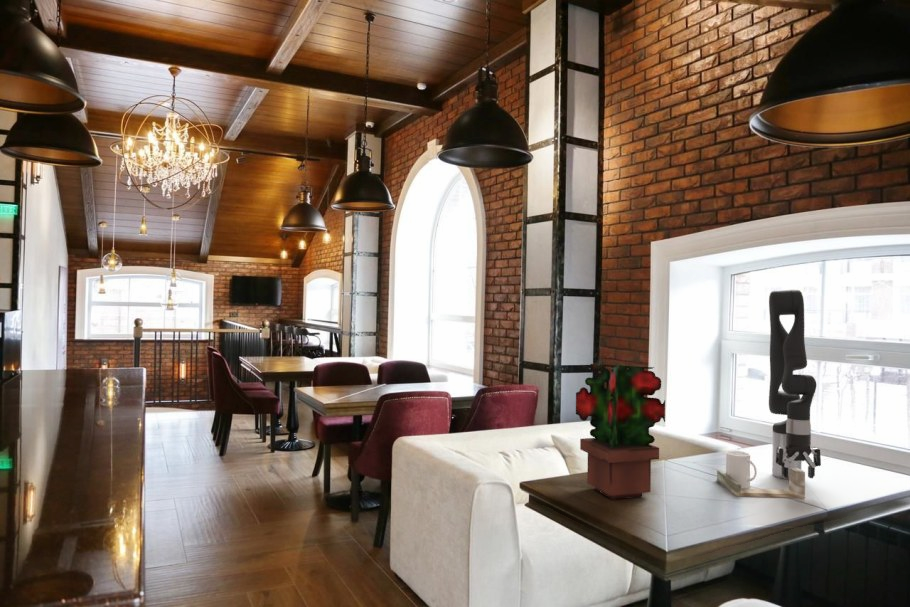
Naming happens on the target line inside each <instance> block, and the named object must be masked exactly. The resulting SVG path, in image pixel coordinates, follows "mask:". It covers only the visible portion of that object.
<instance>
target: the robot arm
mask: <svg viewBox="0 0 910 607" xmlns="http://www.w3.org/2000/svg"><path fill="white" fill-rule="evenodd" d="M768 310H769V324H770V325H769V326H770V338H769V339H770V340H769V372H770V373H769V374H770V375H769V377H770V378H769V379H770V380H769V392H768V394H769V395H768V408H769V412H770V413H771V414H774V415H782V416H786V420H784V421H780V422H776V423H774V424H773V425H772V454H771V455H772V456H771V457H772V458H771V459H772V463H771V464H772V465H771V475H772V476H773V477H775V478H779V479H784V480H789V468H799V469H801V470H802V462H805V463H806V464H807V465H808V466H807V477H808V478H809V479H813V478H815V476H816V474H815V472H816V467H821V464H822V460H821V459H822V458H821V457H822V456H821V449H819V448H818V447H813V448H812V447H811V445H812V443H811V442H812V441H811V440H812V436H811V434H812V425H811V407H812V403H813V399H814V395H815V393H816V389H817V380H816V378H815V377H814V376H813V375H810V374H794V371H798V370H803V369H805V368H806V367H807V366H808V358H807V353H806V352H807V351H806V344H805V342H806V341H805V301H804V296H803V293H802V291H801V290H799V289H782V290H779V289H778V290H772V291H771V292H770V293H769V298H768ZM790 315H791V316H792V315H793V316H794V322H793V324H792V326H791V329H790V330H789V332H788V331H787V330H786V328H785V327H784V325H783V324H782V322H781V318H780V317H781V316H790ZM780 387H781V388H782V390H779V389H780ZM801 395H802V396H801ZM811 454H812V455H813V456H812V458H813V460H812V458H811V457H810V455H811Z"/></svg>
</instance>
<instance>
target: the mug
mask: <svg viewBox="0 0 910 607" xmlns="http://www.w3.org/2000/svg"><path fill="white" fill-rule="evenodd" d="M751 465H752V467H753V469H754V470H753V471H754V475H753V476H752V477H751ZM756 467H757V466H756V465H755V463H754V462H753V461H752V460H751V454H750V453H748V452H745V451H739V450H727V451H726V452H725V473H726V474H727V475H729V476H730V477H731V478H733V479H734V480H735V481H737V482H738V483H740V484H741V489H751V482H753V481H754V480H755V479H756V477H757V468H756Z"/></svg>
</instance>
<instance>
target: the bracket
mask: <svg viewBox="0 0 910 607" xmlns="http://www.w3.org/2000/svg"><path fill="white" fill-rule="evenodd" d="M716 481H717V482H718V483H719V484H720V485H722V486H723V487H725V488H726V489H727V490H728V491H729V492H731V493H732V494H733V495H735V496H736V497H758V498H759V497H763V498H791V499H793V498H794V499H796V498H797V499H798V498H799V499H805V498H806V471H805V470H802V468H801V469H799V468H789V479H788V481H789V482H788V489H771V488H768V489H767V488H744V489H743V488H741V484H740V483H738V482H737V481H735V480H734V479H733V478H731V477H730V476H729V475H727V474H726V472H724V471H723V470H721V469H717V470H716Z"/></svg>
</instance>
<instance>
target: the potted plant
mask: <svg viewBox="0 0 910 607" xmlns="http://www.w3.org/2000/svg"><path fill="white" fill-rule="evenodd" d="M605 367H611V368H610V369H609V368H605ZM654 368H655V366H654V367H653V366H648V367H647V366H638V365H637V366H635V365H634V366H633V365H627V363H623V364H620V365H618V364H617V365H615V364H614V365H613V364H601V363H600V364H598V363H590V369H591V370H592V371H594V372H595V371H596V372H599V373H597V374H596V375H595V377H587V378H586V379H585V380H584V383H585V385H586V386H589V388H590V389H589V390H588V388H586V387H584V386H583V387H581V388H580V389H579V391H576V392H575V414H576V415H577V416H579V419H580V420H581V421H585V422H586V421H587V420H588V418H589V417H593V418H591V419H590V420H589V423H590V426H591V427H594V428H592V429H590V431H589V434H590V436H591V437H588V438H587V437H586V438H580V442H579V443H580V446H579V448H580V450H581V451H582V452H585V453H587V475H586V476H587V478H586V479H587V484H589V485H590V486H593V488H594V490H595V489H597V490H599V491H601V492H602V493H604V494H605V495H607V496H609V497H610V498H609V497H608V498H609V499H611V498H612V499H611V500H615V499H614V498H622V499H628V498H627V497H633V498H642V497H643V494H644V493H645V494H646V493H647V494H648V493H651V490H652V489H651V487H652V486H651V474H652V472H651V469H652V466H651V464H652V463H651V461H653V460H655V461H656V460H660V447H659V446H655V445H652V444H653V443H654V442H655V440H656V439H655V437H654V436H653V435H652V434H650V428H654V427H655V424H657V423H660V422H661V421H662V420H663V422H664V423H666V399H664V401H663V403H662V400H661V399H659V398H657V397H650V396H653V395H655V393H656V391H660V390H661V389H662V380H661V378H660V377H658V376H656V373H655V372H654V371H651V370H652V369H654ZM645 369H649V370H645ZM610 370H611V372H610ZM605 384H606V385H605ZM605 387H606V388H605ZM646 396H649V397H646ZM597 490H596V491H597ZM602 493H601V494H602ZM604 494H603V495H604ZM605 495H604V496H605ZM607 496H606V497H607ZM641 496H642V497H641Z"/></svg>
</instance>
